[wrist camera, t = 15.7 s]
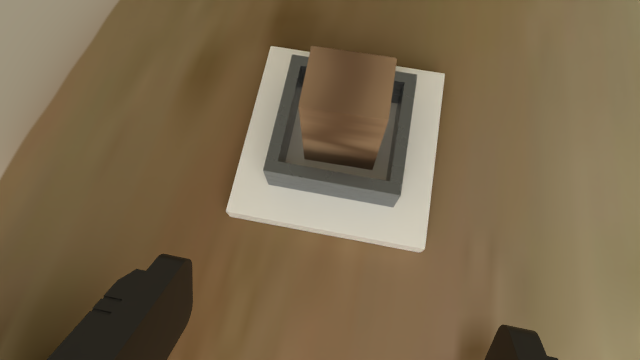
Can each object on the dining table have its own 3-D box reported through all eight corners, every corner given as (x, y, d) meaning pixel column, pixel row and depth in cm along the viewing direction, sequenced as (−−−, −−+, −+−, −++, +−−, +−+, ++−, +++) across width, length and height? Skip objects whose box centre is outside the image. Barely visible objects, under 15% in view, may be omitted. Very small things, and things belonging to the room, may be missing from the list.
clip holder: (439, 84, 34) (456, 50, 30) (420, 252, 30) (436, 241, 26) (272, 56, 35) (266, 20, 31) (230, 216, 31) (215, 199, 27)
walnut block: (379, 120, 32) (397, 57, 24) (372, 170, 30) (388, 120, 23) (314, 110, 32) (311, 45, 24) (304, 159, 31) (298, 106, 23)
